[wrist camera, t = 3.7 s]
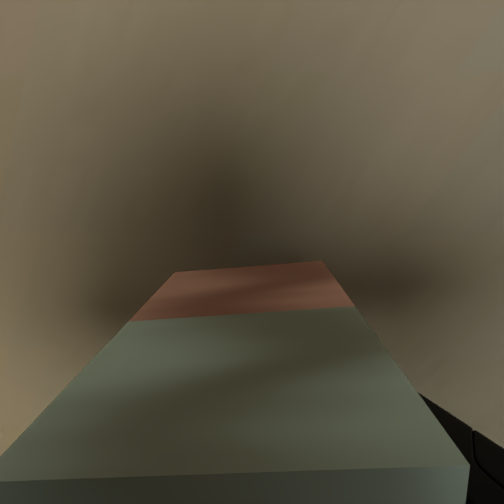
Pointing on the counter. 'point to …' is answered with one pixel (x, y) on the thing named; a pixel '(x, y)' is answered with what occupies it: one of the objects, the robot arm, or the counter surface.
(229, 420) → the brick stack
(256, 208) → the counter surface
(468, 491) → the robot arm
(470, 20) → the counter surface
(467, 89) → the counter surface
